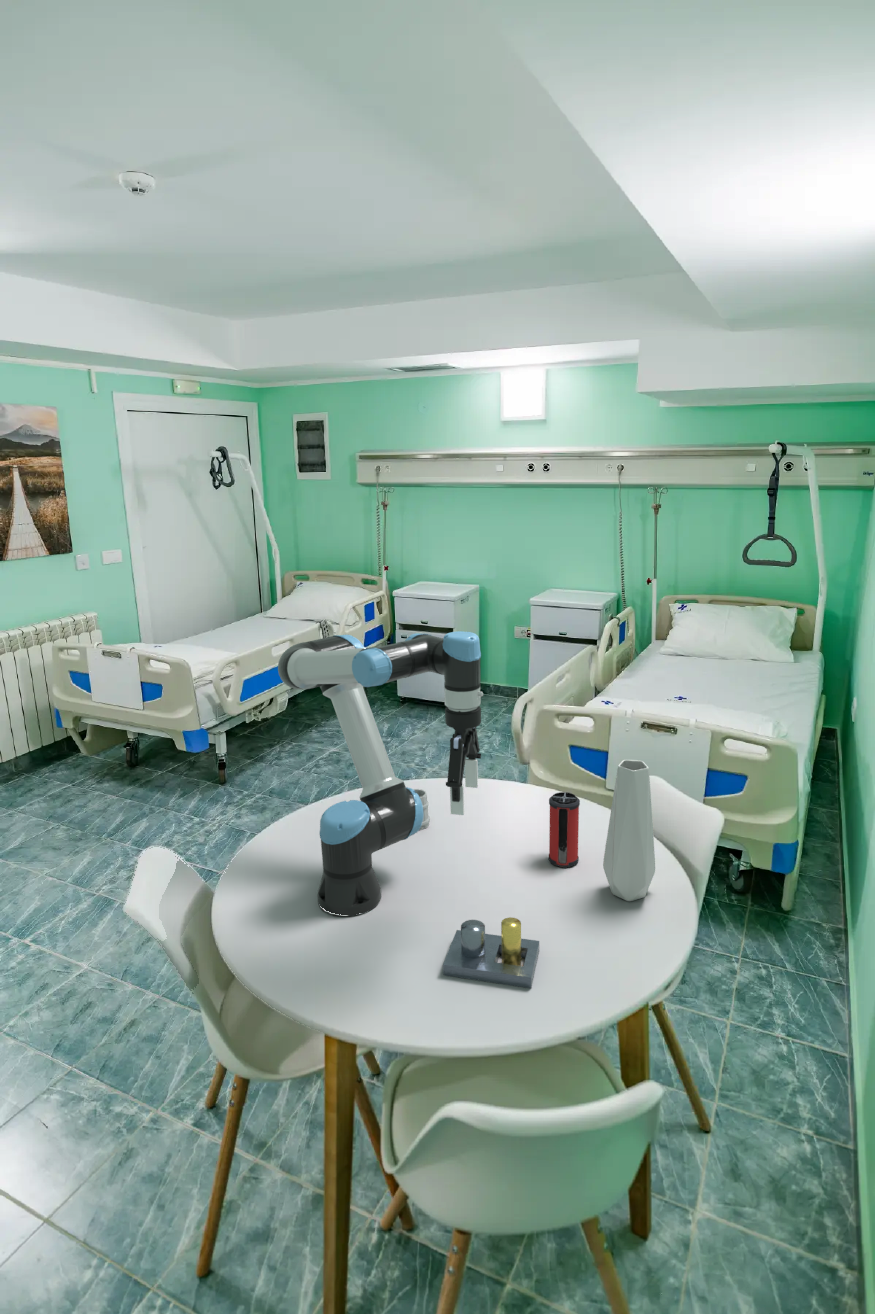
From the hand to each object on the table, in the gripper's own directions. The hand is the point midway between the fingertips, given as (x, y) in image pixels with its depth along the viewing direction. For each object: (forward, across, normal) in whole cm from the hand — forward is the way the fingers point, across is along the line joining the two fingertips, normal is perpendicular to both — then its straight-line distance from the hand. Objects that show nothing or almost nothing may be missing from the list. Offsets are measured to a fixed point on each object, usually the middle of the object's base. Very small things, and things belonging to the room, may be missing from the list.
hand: (464, 800), depth 163 cm
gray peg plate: (+31, -12, -8) cm, 34 cm away
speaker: (+31, +33, -18) cm, 48 cm away
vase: (+31, +21, -34) cm, 51 cm away
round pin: (+31, -12, -12) cm, 35 cm away
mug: (+31, +44, +27) cm, 60 cm away
